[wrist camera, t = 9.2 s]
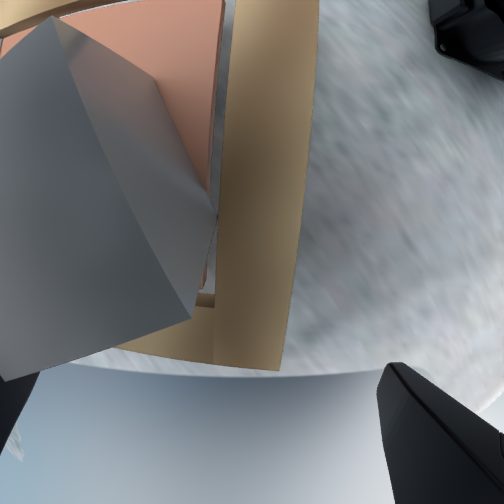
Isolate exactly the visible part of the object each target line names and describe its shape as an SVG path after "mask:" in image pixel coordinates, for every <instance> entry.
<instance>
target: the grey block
mask: <svg viewBox="0 0 504 504" xmlns="http://www.w3.org/2000/svg"><path fill="white" fill-rule="evenodd" d="M217 219H218V216H217V214H216V212H215V210H214V207H213V205H212V203H211V201H210V199H209V197H208V195H207V193H206V191H205V188H204V186H203V184H202V182H201V180H200V178H199V176H198V174H197V171H196V169H195V167H194V165H193V163H192V161H191V159H190V156H189V154H188V152H187V150H186V148H185V146H184V143H183V141H182V139H181V137H180V135H179V133H178V131H177V128H176V126H175V124H174V122H173V120H172V118H171V115H170V113H169V111H168V109H167V107H166V104H165V102H164V100H163V98H162V96H161V93H160V91H159V89H158V87H157V85H156V82H155V80H154V78H153V77H152V76H151V75H149V74H148V73H146V72H145V71H143V70H142V69H140V68H139V67H137V66H136V65H134V64H133V63H131V62H130V61H128V60H126V59H125V58H123V57H122V56H120V55H119V54H117V53H115V52H114V51H112V50H111V49H109V48H107V47H106V46H104V45H102V44H101V43H99V42H97V41H96V40H94V39H92V38H91V37H89V36H87V35H86V34H84V33H82V32H81V31H79V30H77V29H75V28H74V27H72V26H70V25H68V24H67V23H65V22H63V21H61V20H59V19H58V18H56V17H54V16H52V15H51V16H50V17H49V18H47V19H46V20H45V21H43V22H42V23H41V24H40V25H38V26H37V27H36V28H35V29H33V30H32V31H31V32H30V33H28V34H27V35H26V36H25V37H24V38H23V39H21V40H20V41H19V42H18V43H17V44H16V45H15V46H14V47H12V48H11V49H10V50H9V51H8V52H7V53H6V54H5V55H4V56H3V57H2V58H1V59H0V376H1V377H2V378H3V379H4V381H5V382H6V381H9V380H13V379H16V378H19V377H23V376H26V375H29V374H32V373H36V372H39V371H42V370H45V369H48V368H51V367H55V366H57V365H61V364H64V363H67V362H70V361H73V360H76V359H79V358H82V357H85V356H88V355H91V354H94V353H97V352H100V351H103V350H106V349H109V348H111V347H114V346H117V345H120V344H123V343H126V342H129V341H131V340H134V339H137V338H140V337H143V336H146V335H148V334H151V333H154V332H157V331H159V330H162V329H165V328H168V327H170V326H173V325H176V324H178V323H181V322H184V321H186V320H189V319H192V315H193V311H194V307H195V303H196V299H197V295H198V291H199V287H200V283H201V279H202V275H203V271H204V267H205V264H206V260H207V256H208V252H209V248H210V245H211V241H212V237H213V234H214V230H215V226H216V223H217Z"/></svg>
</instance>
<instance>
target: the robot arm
mask: <svg viewBox="0 0 504 504" xmlns="http://www.w3.org/2000/svg"><path fill="white" fill-rule="evenodd" d="M430 11H431V22H432V24H433V25H434V34H435V49H436V51H437V52H438V53H439V54H440V55H442V56H445V57H448V58H450V59H453V60H456V61H458V62H461V63H463V64H465V65H468V66H470V67H473V68H475V69H477V70H479V71H482V72H484V73H486V74H488V75H490V76H492V77H495V78H497V79H499V80H501V81H503V82H504V77H503V76H502V72H503V74H504V0H430ZM440 45H442V46H443V47H444V49H445V50H444V51H443V50H442V49H441V48H440ZM39 373H40V371H39V372H36V373H32V374H29V375H26V376H23V377H19V378H16V379H13V380H9V381H6V382H5V381H4V379H3V378H2V377H1V376H0V455H1V452H2V450H3V448H4V446H5V444H6V442H7V439H8V437H9V435H10V433H11V431H12V429H13V427H14V425H15V423H16V421H17V419H18V417H19V415H20V413H21V411H22V409H23V407H24V406H25V404H26V402H27V400H28V398H29V396H30V394H31V391H32V390H33V387H34V385H35V383H36V380H37V378H38V376H39ZM377 402H378V409H379V417H380V425H381V434H382V442H383V447H384V452H385V457H386V461H387V466H388V470H389V475H390V480H391V484H392V490H393V495H394V500H395V504H504V434H503V433H501V432H500V433H499V430H497V429H496V428H494V427H493V426H492V425H490V424H489V423H487V422H486V421H485V420H483V419H481V418H480V417H479V416H478V415H476V414H475V413H473V412H472V411H471V410H469V409H468V408H466V407H465V406H464V405H462V404H461V403H459V402H458V401H457V400H455V399H454V398H452V397H451V396H450V395H448V394H447V393H445V392H444V391H442V390H441V389H440V388H438V387H437V386H435V385H434V384H433V383H431V382H430V381H428V380H427V379H426V378H424V377H423V376H421V375H420V374H419V373H417V372H416V371H414V370H413V369H412V368H410V367H409V366H407V365H406V364H405V363H403V362H390V363H388V364H387V365H386V367H385V369H384V372H383V374H382V377H381V379H380V382H379V384H378V387H377Z"/></svg>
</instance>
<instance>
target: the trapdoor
mask: <svg viewBox="0 0 504 504" xmlns="http://www.w3.org/2000/svg"><path fill="white" fill-rule="evenodd" d="M225 5H226V4H225V0H143V1H136V2H129V3H123V4H118V5H113V6H107V7H103V8H98V9H94V10H89V11H85V12H81V13H77V14H73V15H70V16H66V17H63V18H59V20H61V21H63V22H65V23H67V24H68V25H70V26H72V27H74V28H75V29H77V30H79V31H81V32H82V33H84V34H86V35H87V36H89V37H91V38H92V39H94V40H96V41H97V42H99V43H101V44H102V45H104V46H106V47H107V48H109V49H111V50H112V51H114V52H115V53H117V54H119V55H120V56H122V57H123V58H125V59H126V60H128V61H130V62H131V63H133V64H134V65H136V66H137V67H139V68H140V69H142V70H143V71H145V72H146V73H148V74H149V75H151V76H152V77H153V78H154V80H155V82H156V85H157V87H158V89H159V91H160V93H161V96H162V98H163V100H164V102H165V104H166V107H167V109H168V111H169V113H170V115H171V118H172V120H173V122H174V124H175V126H176V128H177V131H178V133H179V135H180V137H181V139H182V141H183V143H184V146H185V148H186V150H187V152H188V154H189V156H190V159H191V161H192V163H193V165H194V167H195V169H196V171H197V174H198V176H199V178H200V180H201V182H202V184H203V186H204V188H205V191H206V193H207V195H208V197H209V192H210V174H211V158H212V142H213V128H214V115H215V103H216V91H217V80H218V69H219V59H220V49H221V40H222V30H223V22H224V13H225ZM36 27H37V26H35V27H32V28H29V29H26V30H24V31H21V32H18V33H16V34H13V35H11V36H8V37H6V38H4V39H3V38H1V39H0V59H1V58H2V57H3V56H4V55H5V54H6V53H7V52H8V51H9V50H10V49H11V48H12V47H14V46H15V45H16V44H17V43H18V42H19V41H20V40H21V39H23V38H24V37H25V36H26V35H27V34H28V33H30V32H31V31H32V30H33V29H35V28H36ZM206 269H207V260H206V264H205V267H204V271H203V275H202V279H201V283H200V287H199V289H203V287H204V284H205V282H206Z"/></svg>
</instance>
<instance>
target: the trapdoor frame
mask: <svg viewBox="0 0 504 504" xmlns="http://www.w3.org/2000/svg"><path fill="white" fill-rule="evenodd" d="M121 1H127V0H0V39H1V38H3V39H4V38H6V37H8V36H11V35H13V34H16V33H18V32H21V31H24V30H26V29H29V28H32V27H35V26H38V25H40V24H41V23H42V22H43V21H45V20H46V19H47V18H49V17H50V16H51V15H52V16H54V17H56V18H58V19H59V17H61V16H64V15H68V14H71V13H75V12H78V11H82V10H86V9H90V8H94V7H98V6H102V5H107V4H111V3H116V2H121ZM318 20H319V0H236V6H235V14H234V24H233V33H232V43H231V53H230V63H229V74H228V85H227V96H226V108H225V121H224V134H223V148H222V163H221V178H220V195H219V213H218V233H217V255H216V280H215V295H213V294H204V293H198V295H197V299H196V303H195V307H194V311H193V315H192V319H189V320H186V321H184V322H181V323H178V324H176V325H173V326H170V327H168V328H165V329H162V330H159V331H157V332H154V333H151V334H148V335H146V336H143V337H140V338H137V339H134V340H131V341H129V342H126V343H123V344H120V345H117V346H114V347H113V348H118V349H122V350H127V351H132V352H137V353H143V354H148V355H154V356H159V357H165V358H171V359H177V360H184V361H191V362H198V363H205V364H213V365H221V366H229V367H239V368H249V369H259V370H271V371H279V370H280V364H281V358H282V352H283V346H284V340H285V334H286V327H287V321H288V315H289V308H290V301H291V294H292V287H293V280H294V273H295V266H296V259H297V251H298V243H299V236H300V228H301V219H302V211H303V202H304V194H305V184H306V175H307V166H308V156H309V145H310V135H311V124H312V112H313V100H314V86H315V72H316V57H317V40H318Z"/></svg>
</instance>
